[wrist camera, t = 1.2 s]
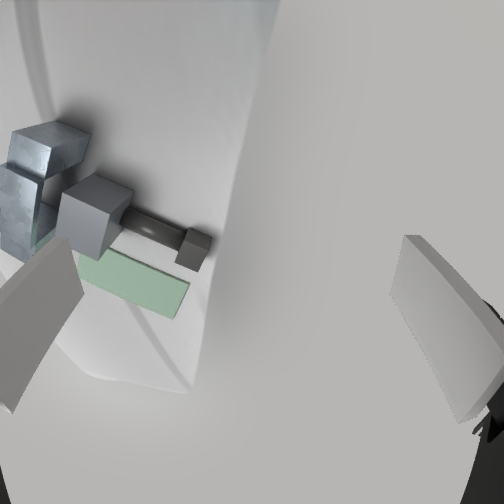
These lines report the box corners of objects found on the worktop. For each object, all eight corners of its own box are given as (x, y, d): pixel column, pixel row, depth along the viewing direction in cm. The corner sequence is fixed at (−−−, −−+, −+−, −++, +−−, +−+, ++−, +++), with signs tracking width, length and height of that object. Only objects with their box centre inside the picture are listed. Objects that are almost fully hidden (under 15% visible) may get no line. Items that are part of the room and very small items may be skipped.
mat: (77, 274, 39) (76, 276, 39) (84, 236, 36) (83, 237, 36) (173, 317, 43) (172, 319, 43) (189, 283, 40) (188, 284, 40)
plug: (82, 214, 35) (54, 240, 28) (93, 173, 32) (62, 192, 26) (197, 266, 39) (188, 301, 32) (216, 227, 36) (209, 258, 30)
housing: (34, 220, 35) (-5, 253, 26) (54, 120, 29) (5, 133, 20) (65, 236, 36) (28, 273, 28) (90, 134, 30) (44, 150, 21)
